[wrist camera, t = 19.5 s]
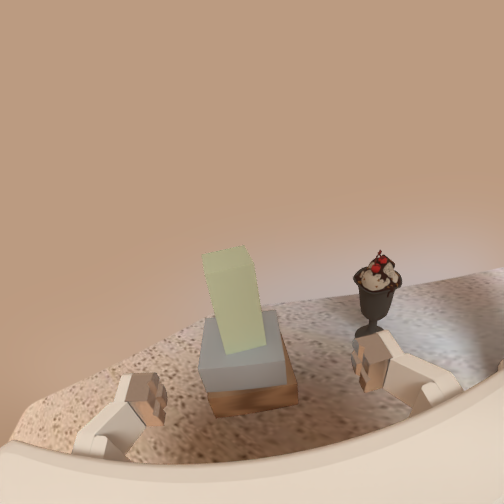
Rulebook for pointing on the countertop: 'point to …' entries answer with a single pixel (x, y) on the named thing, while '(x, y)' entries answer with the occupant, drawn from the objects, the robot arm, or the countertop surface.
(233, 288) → the pillar block
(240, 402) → the tower base block
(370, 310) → the sundae
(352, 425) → the countertop surface
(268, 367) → the tower top block
